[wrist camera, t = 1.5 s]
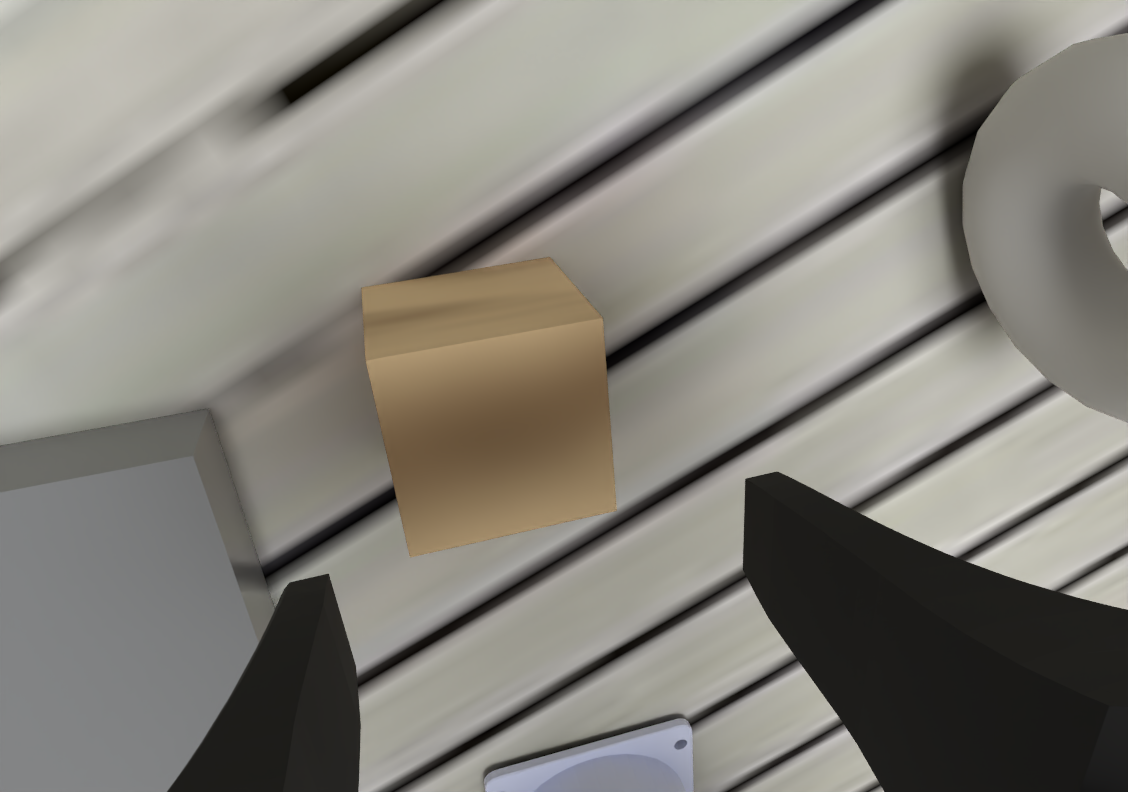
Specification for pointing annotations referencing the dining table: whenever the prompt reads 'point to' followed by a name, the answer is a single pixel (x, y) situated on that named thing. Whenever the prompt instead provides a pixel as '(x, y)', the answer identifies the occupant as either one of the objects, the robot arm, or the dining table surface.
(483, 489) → the oak cube
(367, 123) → the dining table surface
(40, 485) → the slate block
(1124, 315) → the donut
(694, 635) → the dining table surface
